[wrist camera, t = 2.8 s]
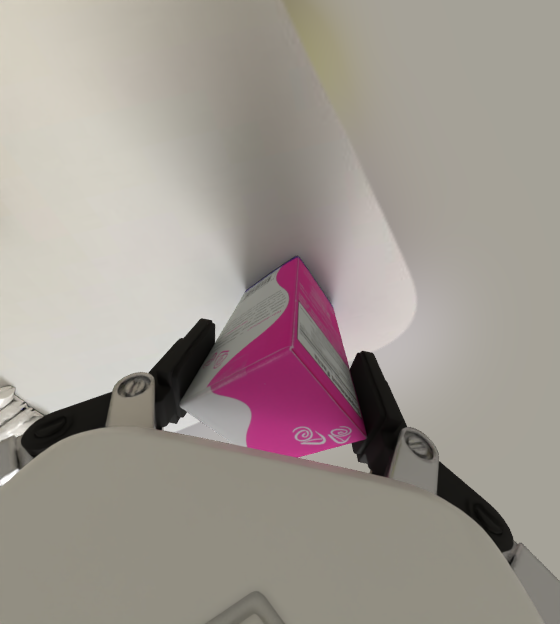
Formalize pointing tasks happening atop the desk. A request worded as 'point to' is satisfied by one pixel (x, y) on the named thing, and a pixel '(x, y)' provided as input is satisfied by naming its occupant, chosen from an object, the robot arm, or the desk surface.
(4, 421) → the white creature statuette
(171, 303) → the desk surface
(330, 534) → the robot arm
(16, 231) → the desk surface
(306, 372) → the supplement box
